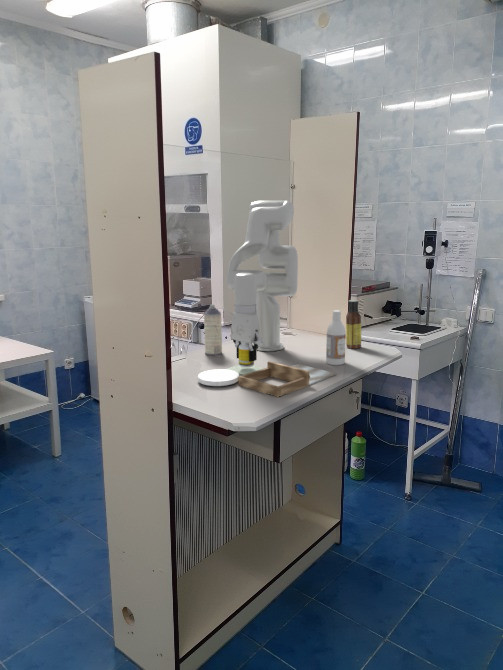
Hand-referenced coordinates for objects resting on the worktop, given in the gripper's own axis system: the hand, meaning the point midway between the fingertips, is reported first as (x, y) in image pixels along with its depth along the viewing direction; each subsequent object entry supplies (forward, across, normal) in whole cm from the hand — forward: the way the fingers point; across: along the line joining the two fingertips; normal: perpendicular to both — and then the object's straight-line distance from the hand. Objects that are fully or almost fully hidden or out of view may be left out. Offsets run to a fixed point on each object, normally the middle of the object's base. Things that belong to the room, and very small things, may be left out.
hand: (246, 358), depth 190 cm
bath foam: (+6, +16, +31) cm, 36 cm away
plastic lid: (+6, -1, -13) cm, 14 cm away
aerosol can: (+6, -29, +10) cm, 31 cm away
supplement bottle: (+3, 0, 0) cm, 3 cm away
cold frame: (+5, +16, +4) cm, 17 cm away
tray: (+5, 0, 0) cm, 5 cm away
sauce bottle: (+6, +8, +55) cm, 56 cm away
